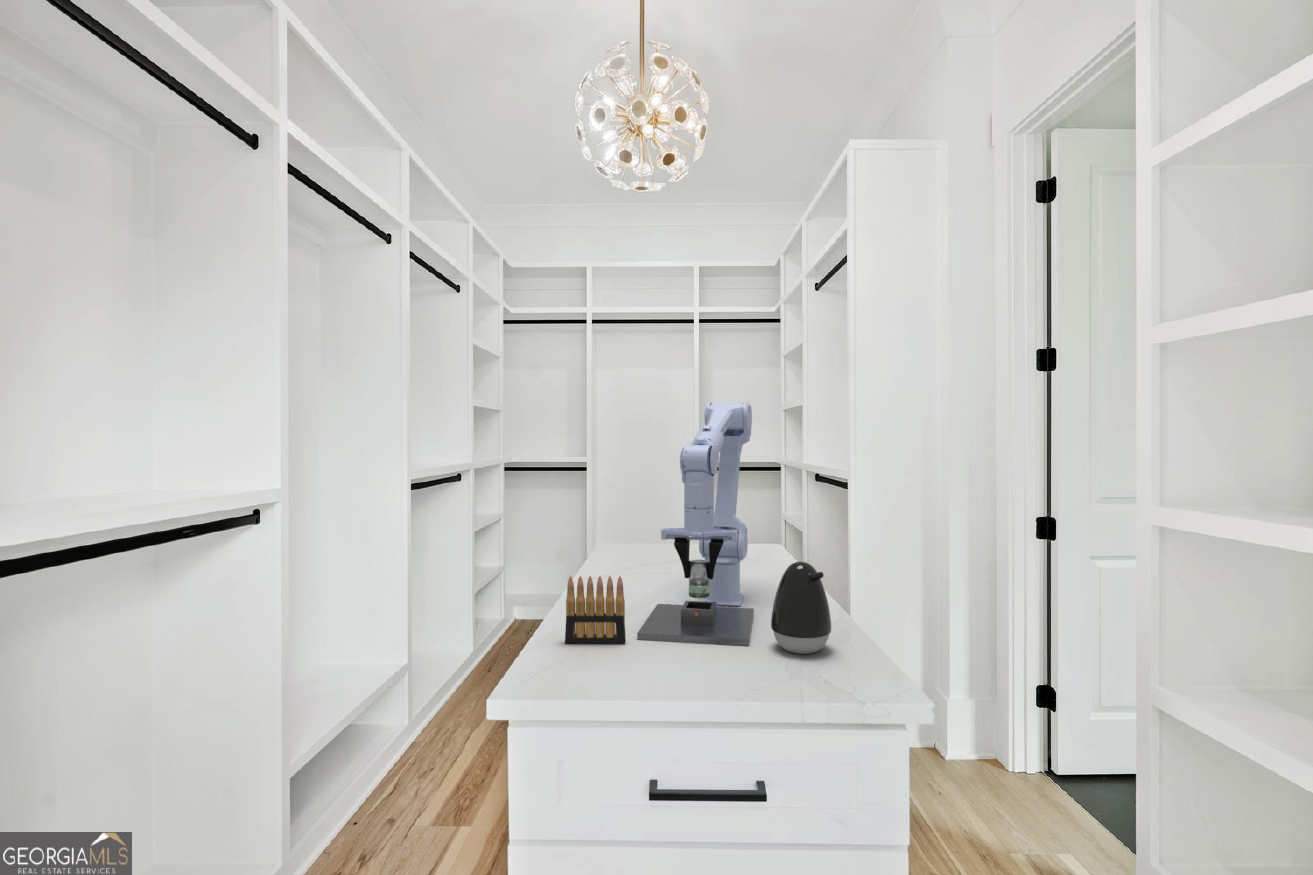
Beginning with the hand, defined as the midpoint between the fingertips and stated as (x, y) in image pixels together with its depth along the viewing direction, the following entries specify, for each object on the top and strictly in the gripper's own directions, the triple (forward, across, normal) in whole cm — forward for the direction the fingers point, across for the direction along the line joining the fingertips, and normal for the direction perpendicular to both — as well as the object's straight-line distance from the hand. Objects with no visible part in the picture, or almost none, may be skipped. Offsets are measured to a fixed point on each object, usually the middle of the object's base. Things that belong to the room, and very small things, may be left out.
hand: (699, 577), depth 130 cm
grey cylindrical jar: (+3, 0, 0) cm, 3 cm away
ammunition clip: (+10, -17, -13) cm, 23 cm away
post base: (+9, 0, 0) cm, 9 cm away
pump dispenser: (+10, +19, -10) cm, 24 cm away
